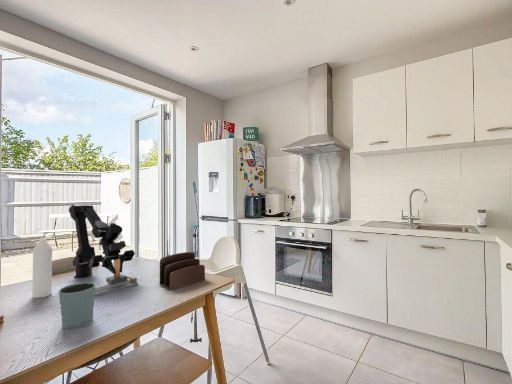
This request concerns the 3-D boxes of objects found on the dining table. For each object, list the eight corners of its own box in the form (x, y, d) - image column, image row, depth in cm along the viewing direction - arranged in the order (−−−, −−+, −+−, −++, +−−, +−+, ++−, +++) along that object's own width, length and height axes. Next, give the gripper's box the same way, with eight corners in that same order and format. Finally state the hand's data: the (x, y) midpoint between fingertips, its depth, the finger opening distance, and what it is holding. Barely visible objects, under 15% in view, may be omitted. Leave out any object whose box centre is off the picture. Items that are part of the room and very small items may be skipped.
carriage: (121, 278, 126) (122, 257, 126) (127, 280, 122) (127, 259, 123) (106, 281, 121) (106, 260, 121) (111, 284, 117) (111, 262, 117)
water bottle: (46, 297, 109) (47, 238, 110) (28, 299, 108) (29, 239, 108) (57, 290, 118) (58, 235, 118) (41, 291, 116) (41, 236, 117)
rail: (129, 281, 130) (129, 275, 131) (138, 285, 125) (138, 278, 125) (68, 296, 111) (68, 289, 111) (74, 301, 105) (74, 294, 105)
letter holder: (159, 285, 124) (159, 256, 124) (194, 276, 139) (194, 250, 139) (169, 290, 117) (169, 259, 118) (205, 280, 132) (205, 252, 132)
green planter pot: (101, 315, 92) (101, 282, 92) (83, 330, 82) (83, 292, 82) (72, 316, 92) (72, 282, 92) (50, 331, 82) (50, 293, 82)
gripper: (92, 238, 117) (100, 266, 110) (133, 233, 132) (143, 258, 124) (86, 253, 122) (94, 281, 115) (126, 247, 137) (135, 272, 129)
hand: (118, 272), depth 121 cm, fingers closed on carriage, 3 cm apart
